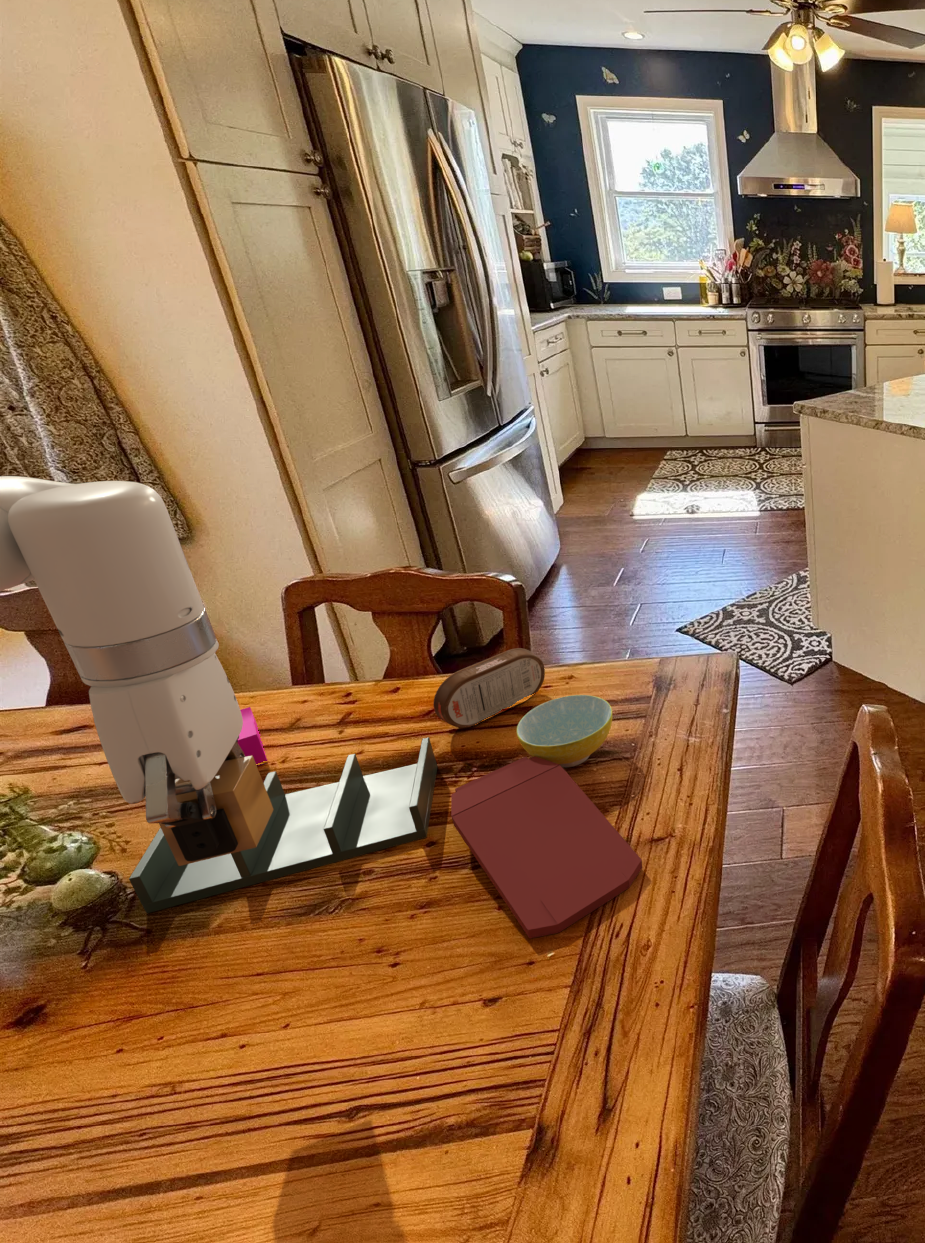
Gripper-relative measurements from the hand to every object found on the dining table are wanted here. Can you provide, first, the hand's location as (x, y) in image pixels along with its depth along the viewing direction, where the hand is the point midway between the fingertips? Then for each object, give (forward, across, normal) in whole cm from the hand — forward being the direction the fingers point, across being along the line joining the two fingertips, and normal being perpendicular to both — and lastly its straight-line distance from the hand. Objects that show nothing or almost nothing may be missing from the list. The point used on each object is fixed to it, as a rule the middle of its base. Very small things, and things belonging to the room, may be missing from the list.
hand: (225, 828), depth 62 cm
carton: (+17, -7, +22) cm, 28 cm away
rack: (+17, -21, -2) cm, 27 cm away
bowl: (+17, -23, +26) cm, 38 cm away
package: (+1, 0, 0) cm, 1 cm away
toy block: (+18, -44, -16) cm, 50 cm away
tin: (+17, -39, +16) cm, 45 cm away
